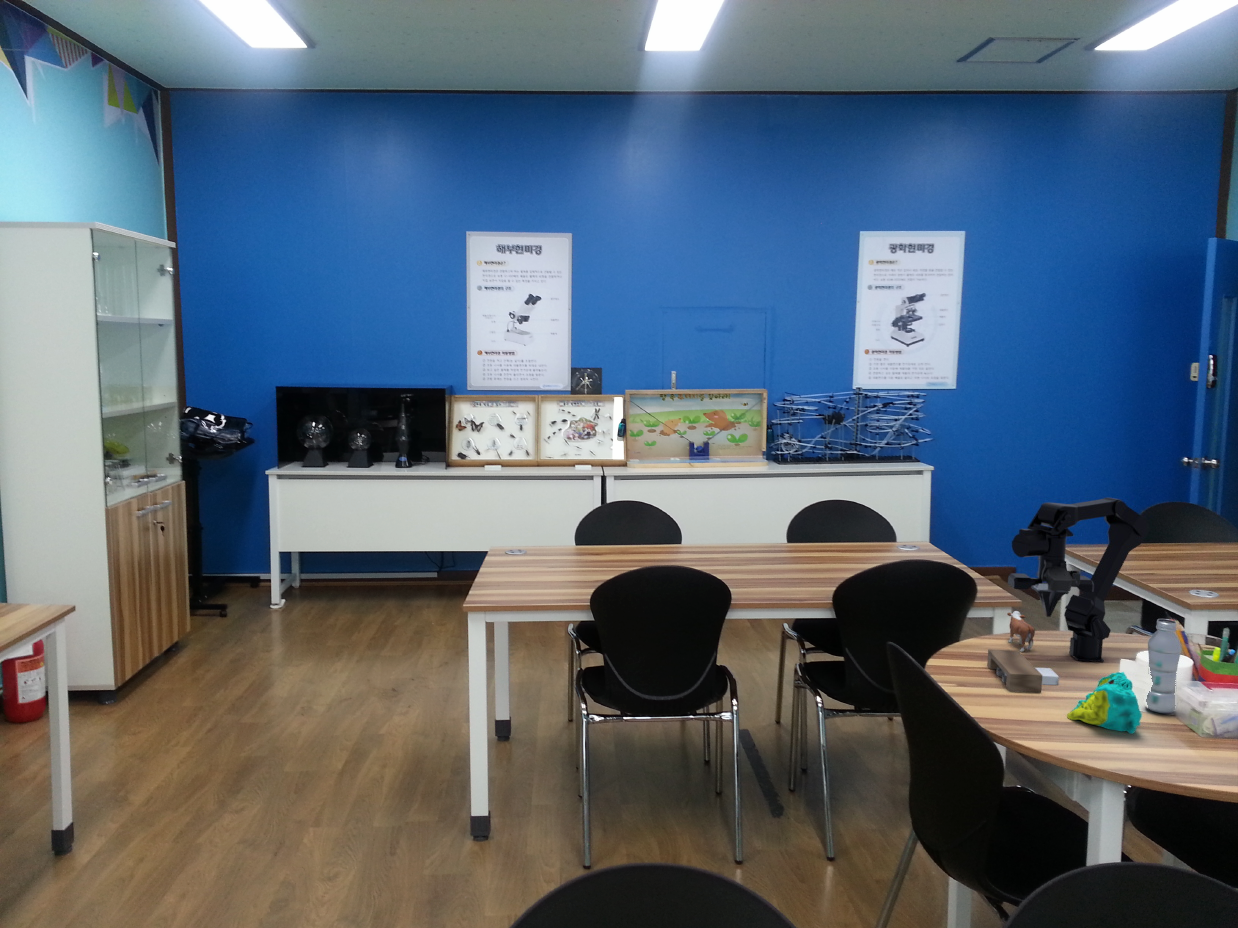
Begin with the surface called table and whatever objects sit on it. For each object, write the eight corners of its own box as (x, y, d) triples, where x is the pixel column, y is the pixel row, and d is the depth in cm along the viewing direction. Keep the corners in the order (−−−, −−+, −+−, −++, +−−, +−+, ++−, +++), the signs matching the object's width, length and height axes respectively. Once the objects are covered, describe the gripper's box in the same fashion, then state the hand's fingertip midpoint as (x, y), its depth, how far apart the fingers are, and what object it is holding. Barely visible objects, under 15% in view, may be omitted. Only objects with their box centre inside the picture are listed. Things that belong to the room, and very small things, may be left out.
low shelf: (1016, 667, 233) (1017, 650, 233) (1041, 692, 215) (1042, 675, 215) (987, 665, 234) (988, 649, 233) (1009, 691, 216) (1010, 673, 216)
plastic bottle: (1144, 714, 203) (1151, 623, 201) (1140, 703, 210) (1147, 615, 207) (1179, 718, 201) (1186, 627, 199) (1173, 707, 207) (1181, 618, 205)
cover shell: (1049, 676, 227) (1050, 668, 227) (1058, 684, 221) (1059, 676, 221) (1002, 674, 228) (1002, 666, 228) (1009, 682, 222) (1010, 674, 222)
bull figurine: (1019, 638, 257) (1021, 609, 256) (1036, 654, 244) (1038, 623, 243) (1003, 637, 257) (1004, 608, 256) (1018, 653, 244) (1020, 622, 243)
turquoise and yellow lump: (1049, 688, 199) (1078, 650, 206) (1070, 733, 201) (1098, 694, 208) (1119, 697, 186) (1148, 656, 193) (1140, 745, 189) (1168, 703, 195)
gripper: (1023, 560, 226) (1019, 624, 228) (1105, 563, 224) (1100, 627, 226) (1009, 550, 237) (1005, 611, 239) (1087, 553, 235) (1082, 614, 237)
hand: (1048, 616), depth 235 cm, fingers closed
